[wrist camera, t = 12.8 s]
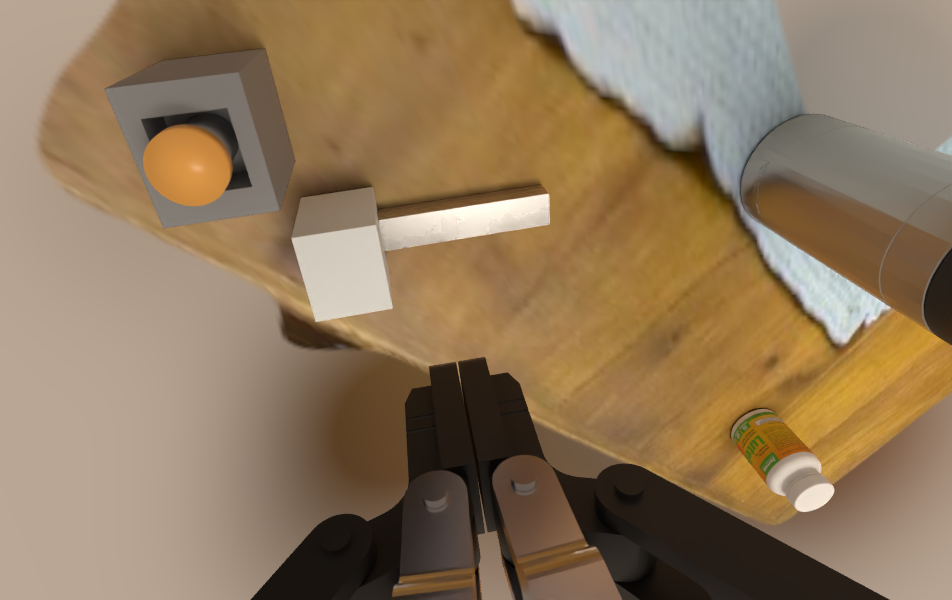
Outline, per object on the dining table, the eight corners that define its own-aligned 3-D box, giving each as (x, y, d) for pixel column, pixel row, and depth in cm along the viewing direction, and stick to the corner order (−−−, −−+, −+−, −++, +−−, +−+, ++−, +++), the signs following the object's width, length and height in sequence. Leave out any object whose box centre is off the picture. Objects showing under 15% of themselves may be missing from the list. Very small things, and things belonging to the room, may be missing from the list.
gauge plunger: (234, 101, 29) (213, 124, 25) (254, 168, 31) (238, 199, 27) (162, 110, 29) (129, 135, 24) (188, 177, 30) (161, 211, 26)
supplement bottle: (735, 411, 59) (796, 483, 50) (781, 403, 59) (849, 473, 51) (725, 447, 61) (781, 521, 53) (769, 440, 62) (831, 511, 54)
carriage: (373, 186, 39) (375, 224, 33) (387, 262, 42) (392, 308, 36) (301, 197, 38) (291, 238, 33) (321, 272, 42) (315, 321, 36)
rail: (541, 184, 41) (549, 193, 40) (542, 214, 43) (549, 224, 41) (296, 222, 39) (294, 233, 38) (305, 251, 41) (303, 264, 39)
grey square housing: (265, 48, 34) (238, 72, 26) (296, 163, 37) (280, 214, 30) (162, 60, 33) (104, 89, 25) (204, 176, 37) (164, 231, 29)
